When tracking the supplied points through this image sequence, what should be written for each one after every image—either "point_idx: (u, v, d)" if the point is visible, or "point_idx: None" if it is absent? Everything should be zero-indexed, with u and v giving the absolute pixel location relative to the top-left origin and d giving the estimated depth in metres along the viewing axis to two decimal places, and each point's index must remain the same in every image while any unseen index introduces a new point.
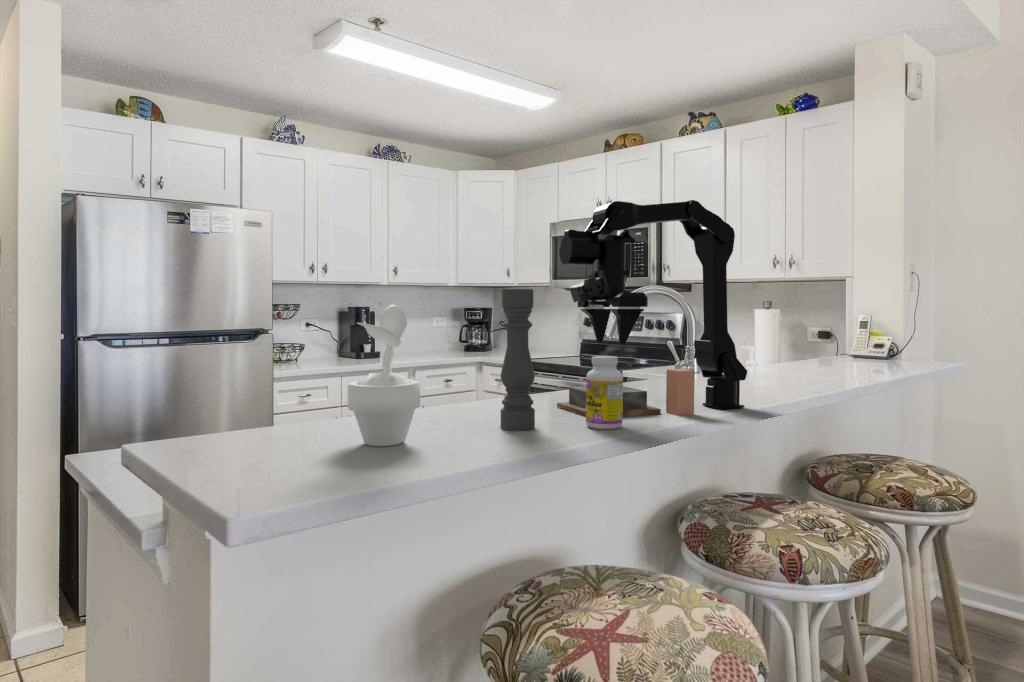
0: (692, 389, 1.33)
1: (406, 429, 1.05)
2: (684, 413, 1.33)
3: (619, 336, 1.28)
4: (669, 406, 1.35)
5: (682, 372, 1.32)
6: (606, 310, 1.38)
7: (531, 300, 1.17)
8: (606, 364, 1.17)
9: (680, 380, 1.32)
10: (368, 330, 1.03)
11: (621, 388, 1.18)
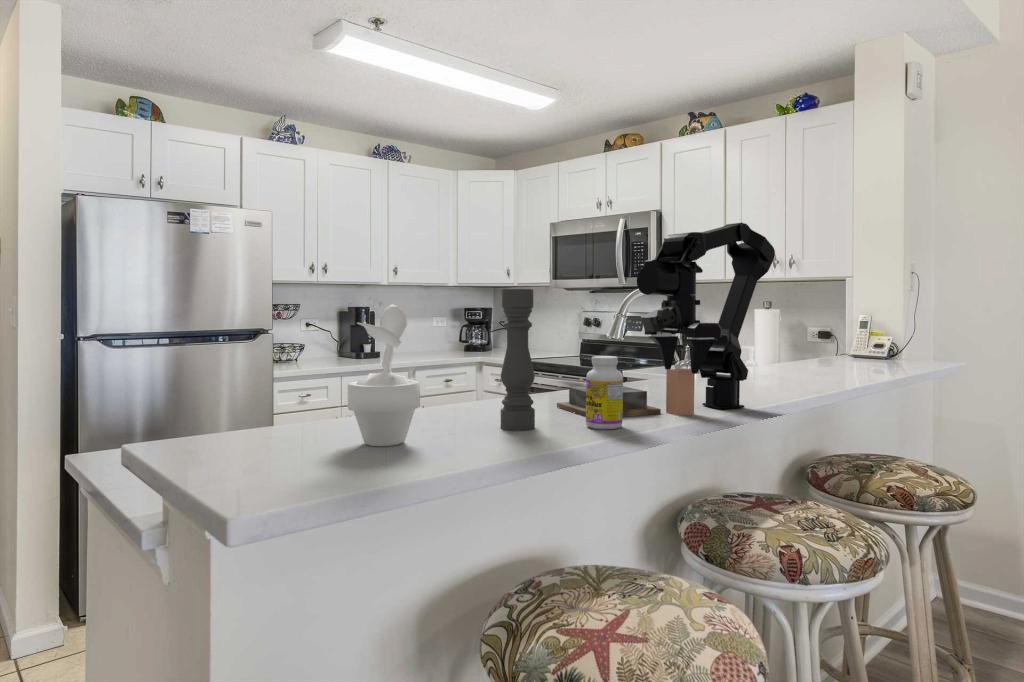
0: (692, 389, 1.33)
1: (406, 429, 1.05)
2: (684, 413, 1.33)
3: (692, 365, 1.30)
4: (669, 406, 1.35)
5: (682, 372, 1.32)
6: (674, 337, 1.40)
7: (531, 300, 1.17)
8: (606, 364, 1.17)
9: (680, 380, 1.32)
10: (368, 330, 1.03)
11: (621, 388, 1.18)
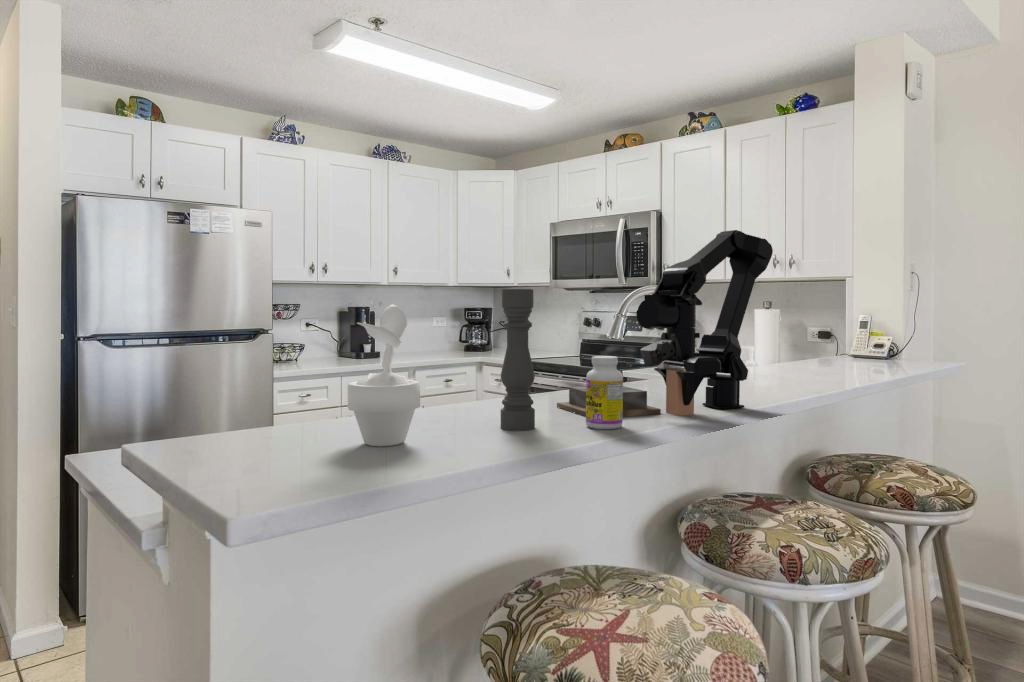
0: None
1: (406, 429, 1.05)
2: (684, 413, 1.33)
3: (684, 397, 1.32)
4: (669, 406, 1.35)
5: None
6: None
7: (531, 300, 1.17)
8: (606, 364, 1.17)
9: (679, 380, 1.32)
10: (368, 330, 1.03)
11: (621, 388, 1.18)
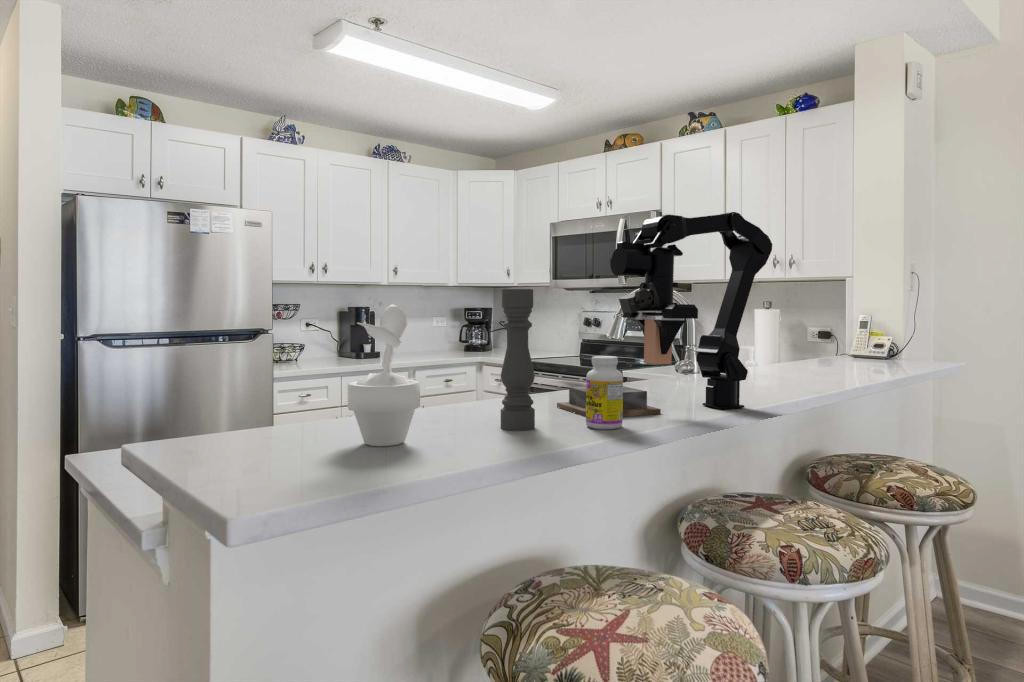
0: None
1: (406, 429, 1.05)
2: (662, 362, 1.33)
3: (661, 346, 1.33)
4: (647, 356, 1.35)
5: None
6: None
7: (531, 300, 1.17)
8: (606, 364, 1.17)
9: (657, 329, 1.33)
10: (368, 330, 1.03)
11: (621, 388, 1.18)
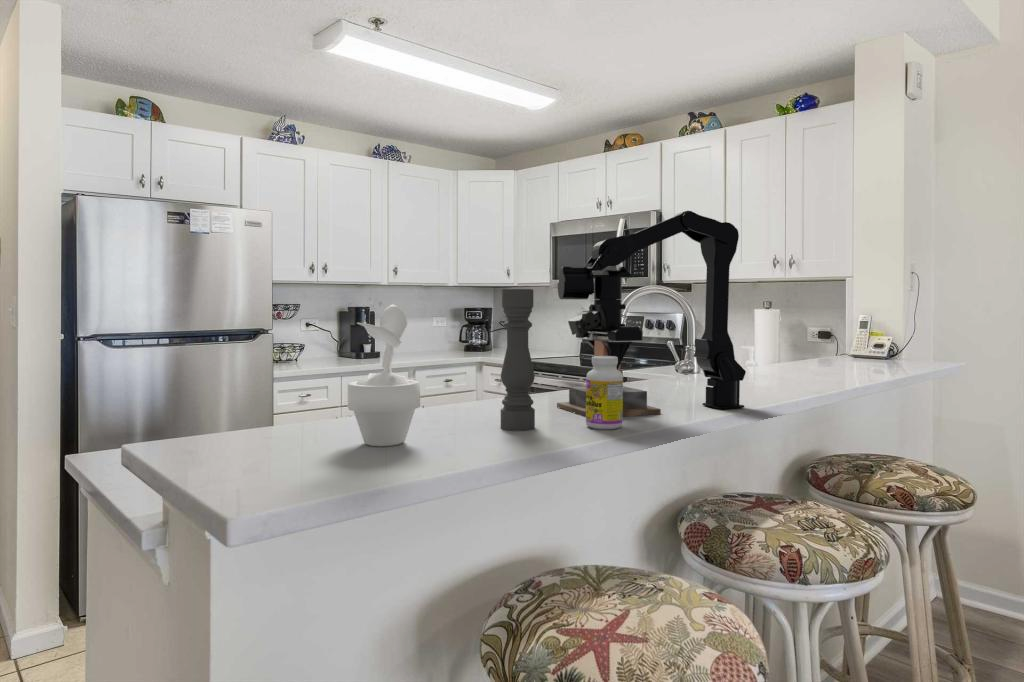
0: None
1: (406, 429, 1.05)
2: None
3: None
4: None
5: None
6: None
7: (531, 300, 1.17)
8: (606, 364, 1.17)
9: (605, 349, 1.36)
10: (368, 330, 1.03)
11: (621, 388, 1.18)
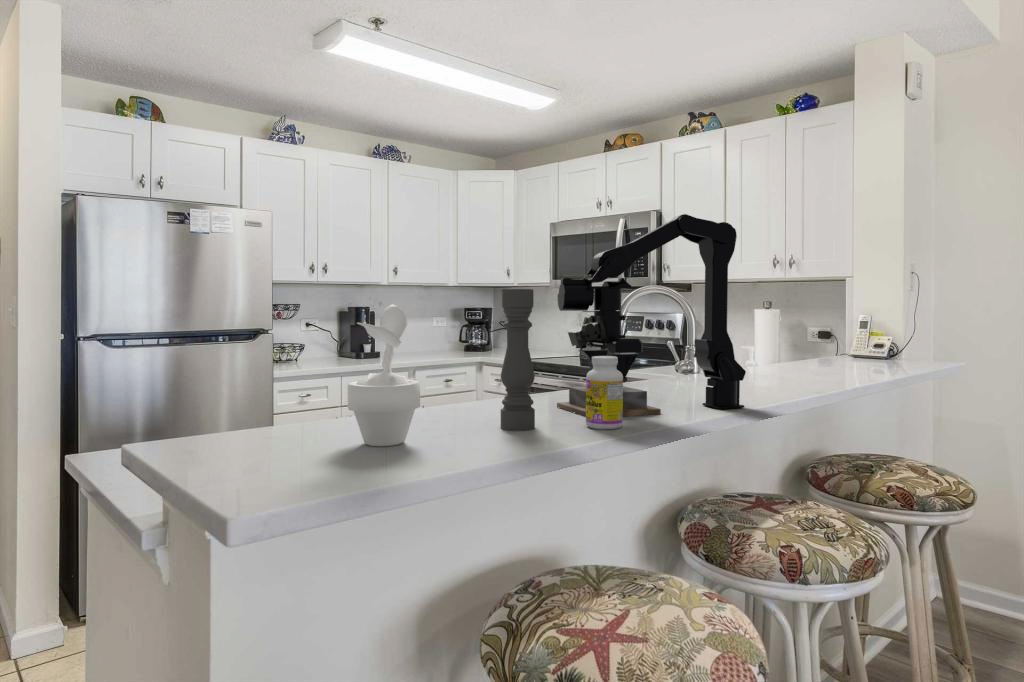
0: None
1: (406, 429, 1.05)
2: None
3: None
4: None
5: None
6: (603, 351, 1.44)
7: (531, 300, 1.17)
8: (606, 364, 1.17)
9: None
10: (368, 330, 1.03)
11: (621, 388, 1.18)
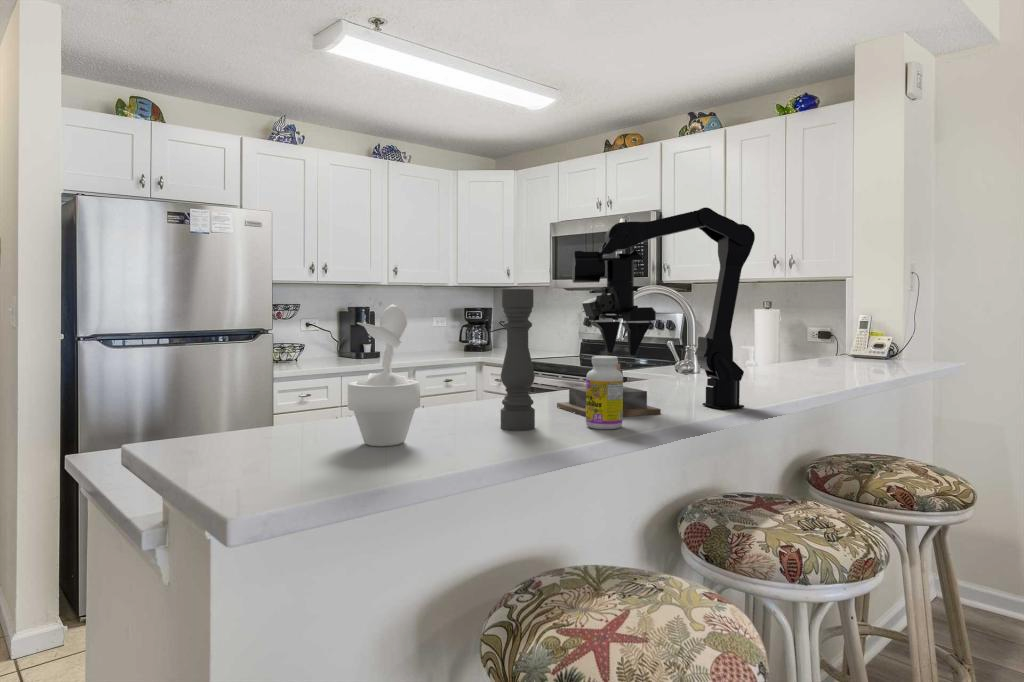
0: None
1: (406, 429, 1.05)
2: None
3: (629, 348, 1.38)
4: None
5: None
6: (615, 323, 1.48)
7: (531, 300, 1.17)
8: (606, 364, 1.17)
9: None
10: (368, 330, 1.03)
11: (621, 388, 1.18)
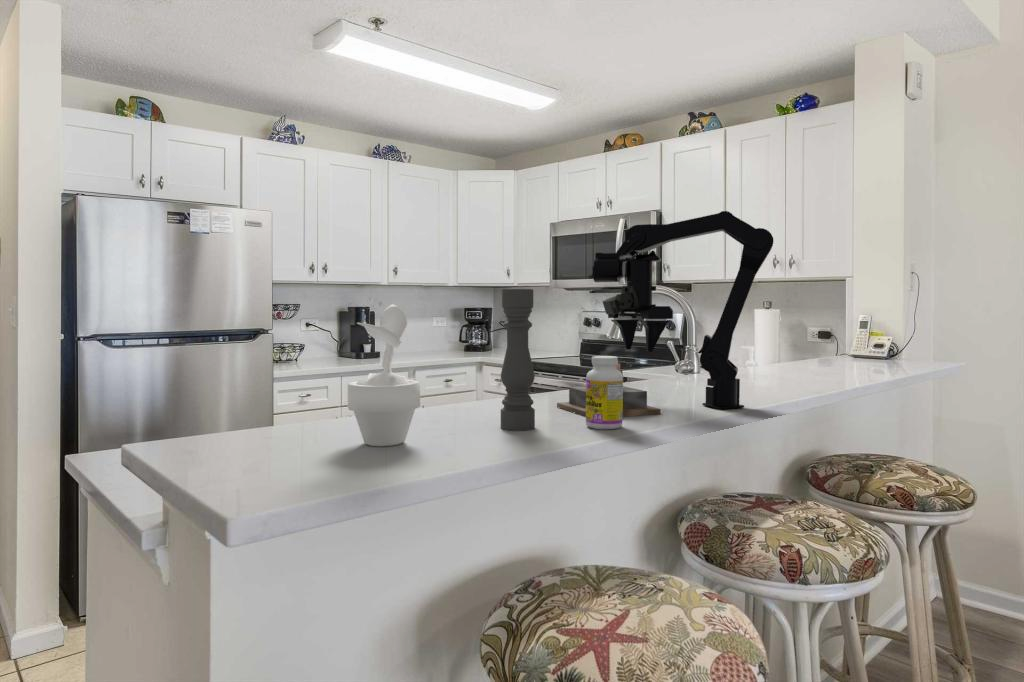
0: None
1: (406, 429, 1.05)
2: None
3: (647, 344, 1.44)
4: None
5: None
6: (634, 321, 1.54)
7: (531, 300, 1.17)
8: (606, 364, 1.17)
9: None
10: (368, 330, 1.03)
11: (621, 388, 1.18)
